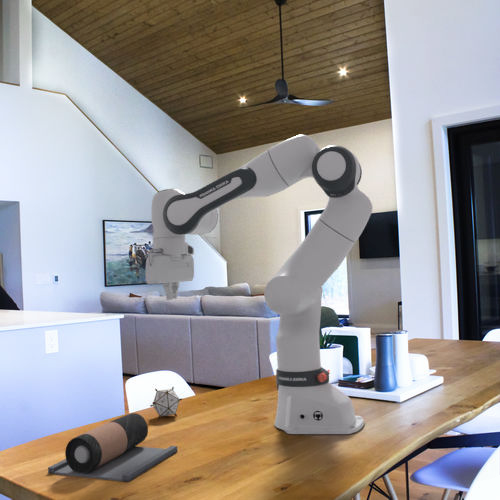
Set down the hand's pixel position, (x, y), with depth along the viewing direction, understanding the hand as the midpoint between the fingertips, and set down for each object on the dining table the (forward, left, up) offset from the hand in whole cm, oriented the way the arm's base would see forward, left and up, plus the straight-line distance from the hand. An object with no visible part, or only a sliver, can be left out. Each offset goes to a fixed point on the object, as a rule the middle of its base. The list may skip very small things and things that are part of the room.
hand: (171, 299), depth 158 cm
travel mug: (-1, +21, -29) cm, 36 cm away
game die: (+6, -4, -33) cm, 34 cm away
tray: (-3, +32, -33) cm, 46 cm away
